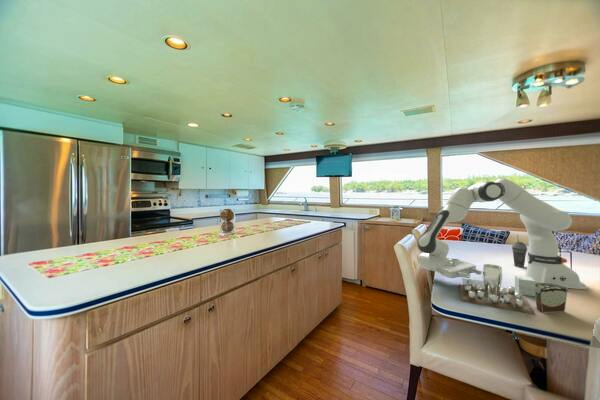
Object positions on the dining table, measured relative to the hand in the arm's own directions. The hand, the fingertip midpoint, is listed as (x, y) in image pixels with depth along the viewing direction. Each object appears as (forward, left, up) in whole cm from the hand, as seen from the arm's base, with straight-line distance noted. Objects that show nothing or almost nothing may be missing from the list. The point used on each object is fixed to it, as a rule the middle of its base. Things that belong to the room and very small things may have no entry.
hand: (475, 274), depth 117 cm
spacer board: (-6, +4, -9) cm, 11 cm away
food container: (-23, +5, -9) cm, 26 cm away
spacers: (-6, +4, -9) cm, 11 cm away
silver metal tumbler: (-6, +4, -9) cm, 12 cm away
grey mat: (-2, -13, -9) cm, 16 cm away
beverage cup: (-27, -61, -9) cm, 67 cm away
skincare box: (-20, -11, -9) cm, 25 cm away
